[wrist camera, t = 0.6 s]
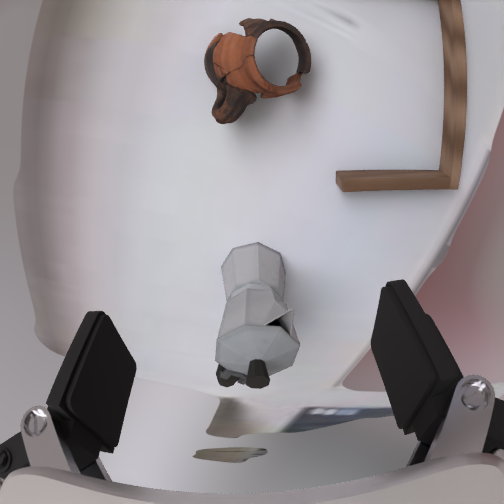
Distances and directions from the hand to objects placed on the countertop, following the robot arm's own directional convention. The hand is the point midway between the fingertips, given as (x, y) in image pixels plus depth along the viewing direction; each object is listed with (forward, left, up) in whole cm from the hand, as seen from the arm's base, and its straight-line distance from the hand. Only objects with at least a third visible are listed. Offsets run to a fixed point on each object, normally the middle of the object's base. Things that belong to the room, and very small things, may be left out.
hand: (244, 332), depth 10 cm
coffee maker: (+18, -1, -27) cm, 32 cm away
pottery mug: (-9, +1, -27) cm, 28 cm away
